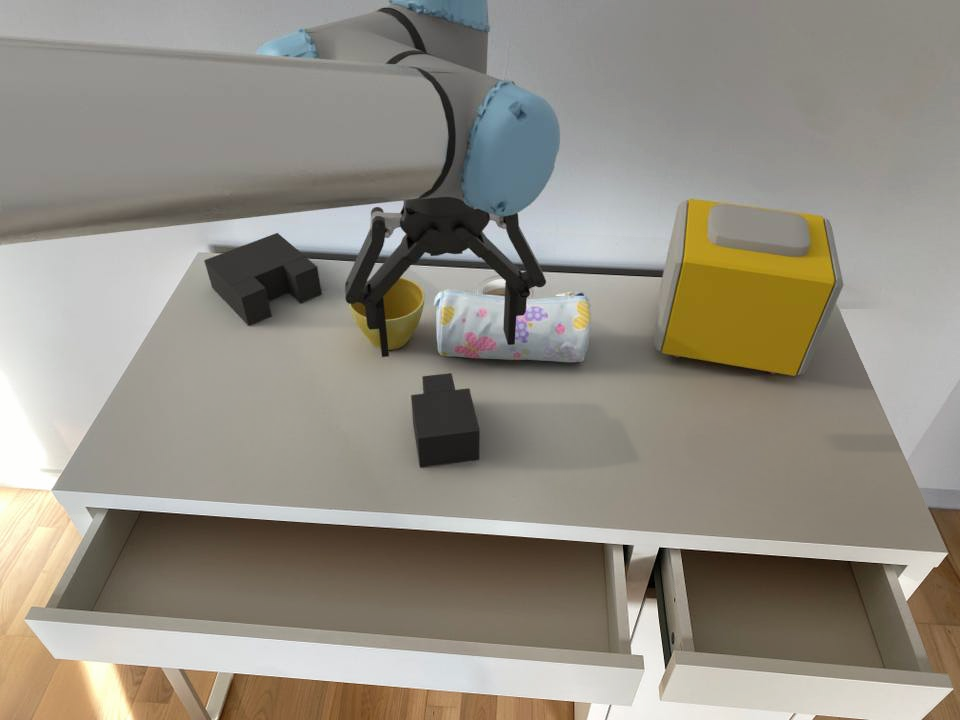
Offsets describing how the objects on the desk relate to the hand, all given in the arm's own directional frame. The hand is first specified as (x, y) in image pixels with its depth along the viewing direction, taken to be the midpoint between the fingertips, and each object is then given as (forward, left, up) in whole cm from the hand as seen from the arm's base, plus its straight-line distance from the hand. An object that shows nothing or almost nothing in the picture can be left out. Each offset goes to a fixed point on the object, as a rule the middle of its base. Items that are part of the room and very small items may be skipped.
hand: (447, 343), depth 78 cm
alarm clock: (+41, -11, -14) cm, 44 cm away
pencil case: (+16, +6, -14) cm, 22 cm away
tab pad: (-1, 0, -14) cm, 14 cm away
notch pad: (-3, +40, -14) cm, 43 cm away
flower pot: (+5, +19, -14) cm, 24 cm away
